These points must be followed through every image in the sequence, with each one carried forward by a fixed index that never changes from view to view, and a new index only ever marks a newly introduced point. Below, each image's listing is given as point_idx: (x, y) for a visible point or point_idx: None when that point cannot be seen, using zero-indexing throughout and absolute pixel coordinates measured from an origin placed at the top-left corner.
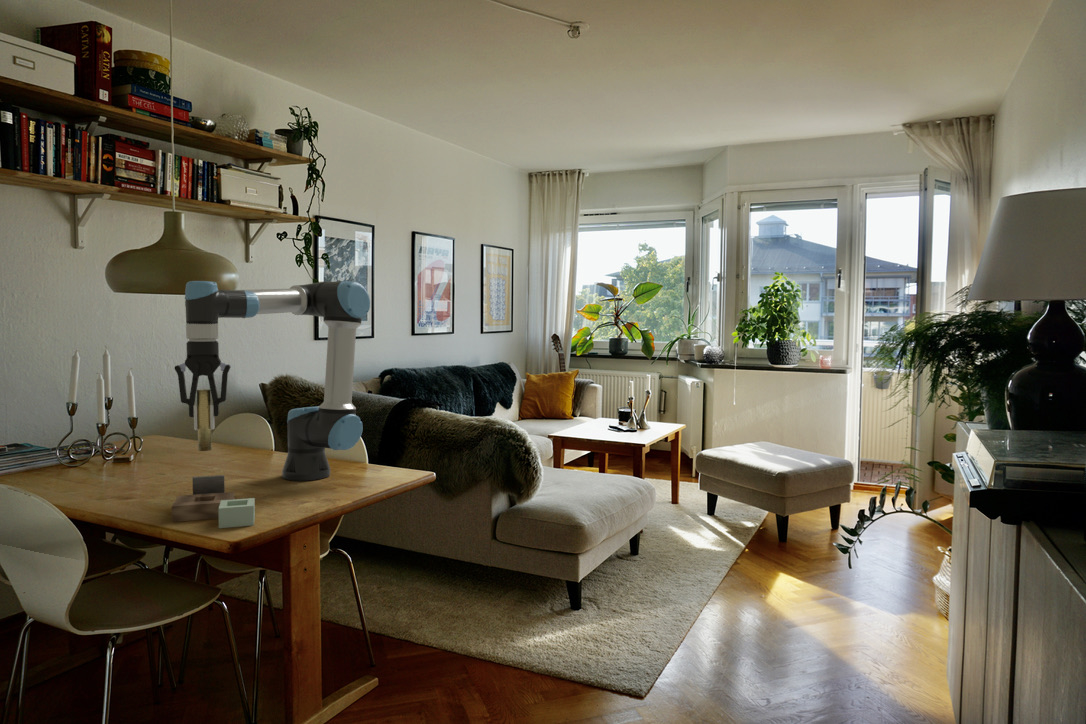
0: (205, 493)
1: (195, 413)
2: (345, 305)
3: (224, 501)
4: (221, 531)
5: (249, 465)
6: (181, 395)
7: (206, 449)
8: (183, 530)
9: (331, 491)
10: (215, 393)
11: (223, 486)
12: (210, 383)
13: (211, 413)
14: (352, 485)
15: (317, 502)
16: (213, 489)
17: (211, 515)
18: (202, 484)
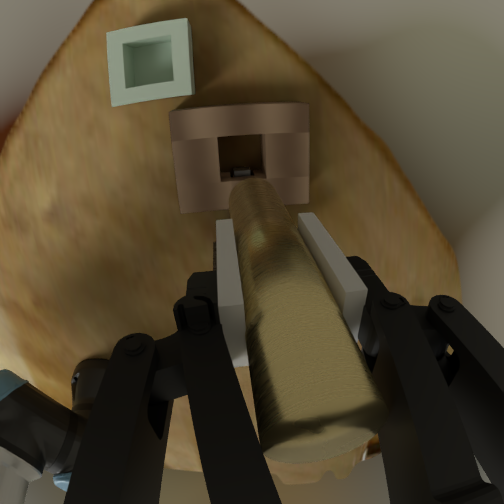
0: None
1: (335, 256)
2: None
3: (181, 81)
4: (183, 12)
5: None
6: (478, 330)
7: (244, 181)
8: (265, 36)
9: (32, 283)
10: (196, 394)
11: (215, 258)
12: (261, 498)
13: (229, 265)
14: (16, 314)
15: (31, 208)
16: None
17: (218, 105)
18: None
